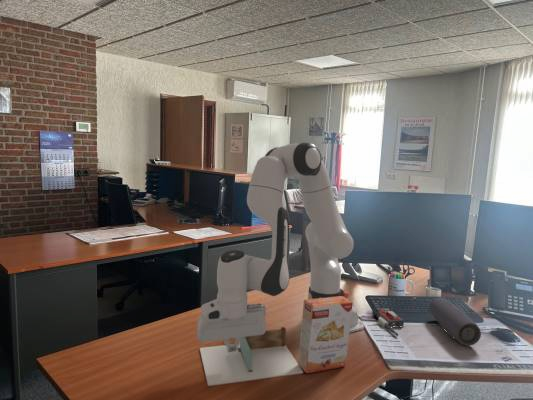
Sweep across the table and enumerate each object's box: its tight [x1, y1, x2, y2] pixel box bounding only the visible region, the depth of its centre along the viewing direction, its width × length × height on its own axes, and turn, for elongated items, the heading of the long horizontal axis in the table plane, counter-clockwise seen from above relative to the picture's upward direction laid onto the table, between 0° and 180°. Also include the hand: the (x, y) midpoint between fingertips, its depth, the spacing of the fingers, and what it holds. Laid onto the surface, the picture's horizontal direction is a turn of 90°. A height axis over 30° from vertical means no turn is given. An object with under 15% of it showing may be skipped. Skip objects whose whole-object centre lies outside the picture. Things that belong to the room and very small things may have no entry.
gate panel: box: [239, 337, 252, 371], centre depth 119 cm, size 13×1×6 cm, turn 15°
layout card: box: [199, 343, 304, 387], centre depth 119 cm, size 28×20×1 cm
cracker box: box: [297, 296, 353, 375], centre depth 116 cm, size 14×6×21 cm, turn 114°
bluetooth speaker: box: [428, 296, 482, 346], centre depth 143 cm, size 23×9×10 cm, turn 0°
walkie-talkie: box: [372, 307, 405, 337], centre depth 148 cm, size 9×4×20 cm
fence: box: [245, 326, 287, 350], centre depth 127 cm, size 14×2×6 cm, turn 106°
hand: (232, 350), depth 115 cm, fingers closed
